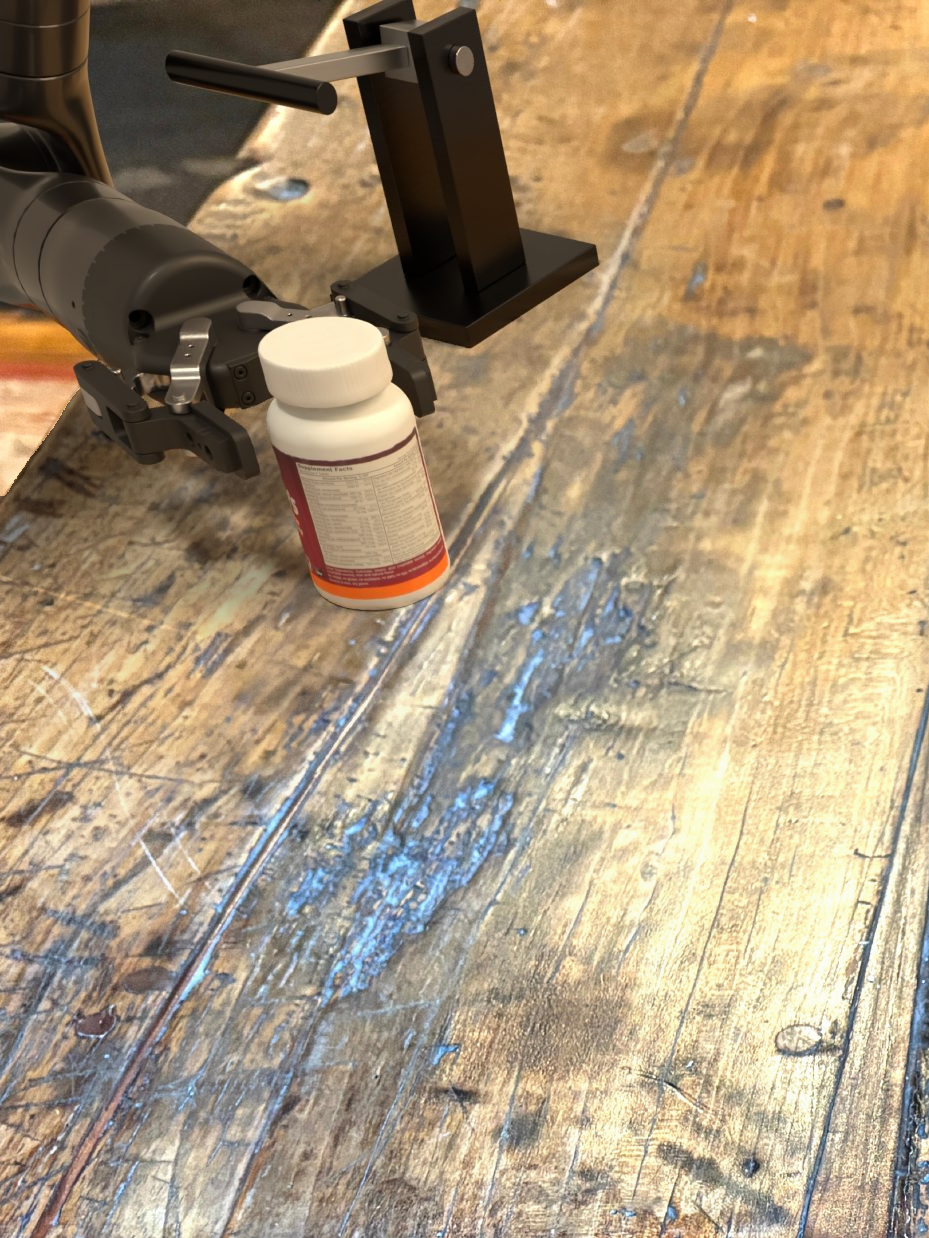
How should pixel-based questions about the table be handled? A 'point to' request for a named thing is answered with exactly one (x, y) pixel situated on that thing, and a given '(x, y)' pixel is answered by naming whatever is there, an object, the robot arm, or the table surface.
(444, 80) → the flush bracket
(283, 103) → the flush lever
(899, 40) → the table surface
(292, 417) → the pill bottle
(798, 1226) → the table surface
